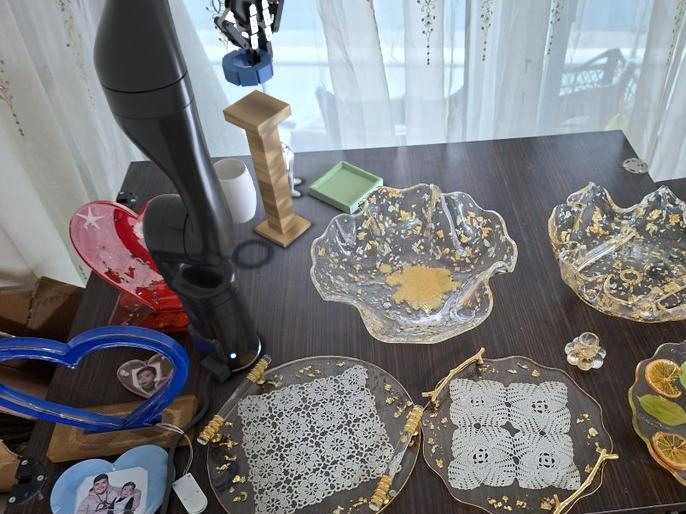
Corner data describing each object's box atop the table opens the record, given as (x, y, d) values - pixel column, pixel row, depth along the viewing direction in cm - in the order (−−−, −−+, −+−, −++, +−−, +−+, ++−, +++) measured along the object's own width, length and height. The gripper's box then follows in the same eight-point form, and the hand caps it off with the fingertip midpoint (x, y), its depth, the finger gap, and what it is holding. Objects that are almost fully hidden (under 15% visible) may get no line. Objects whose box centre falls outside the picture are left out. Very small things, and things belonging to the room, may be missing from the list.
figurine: (300, 199, 131) (291, 152, 122) (280, 199, 131) (270, 153, 122) (302, 178, 136) (293, 131, 126) (282, 178, 136) (273, 132, 126)
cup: (234, 270, 118) (205, 185, 102) (233, 244, 123) (206, 158, 106) (272, 264, 119) (250, 179, 103) (270, 239, 124) (248, 154, 107)
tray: (350, 215, 129) (350, 207, 127) (309, 194, 132) (308, 186, 131) (383, 186, 135) (382, 178, 133) (342, 167, 138) (342, 159, 137)
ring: (250, 91, 96) (246, 77, 94) (215, 76, 98) (211, 62, 96) (283, 71, 100) (280, 57, 98) (249, 56, 102) (246, 42, 100)
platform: (284, 248, 122) (257, 126, 100) (255, 232, 125) (222, 110, 103) (311, 225, 126) (290, 104, 104) (282, 210, 129) (255, 89, 107)
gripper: (222, -27, 82) (249, 91, 96) (291, -60, 89) (307, 54, 103) (183, -41, 85) (214, 75, 98) (253, -72, 92) (273, 41, 105)
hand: (262, 64), depth 100 cm, fingers closed on ring, 2 cm apart
